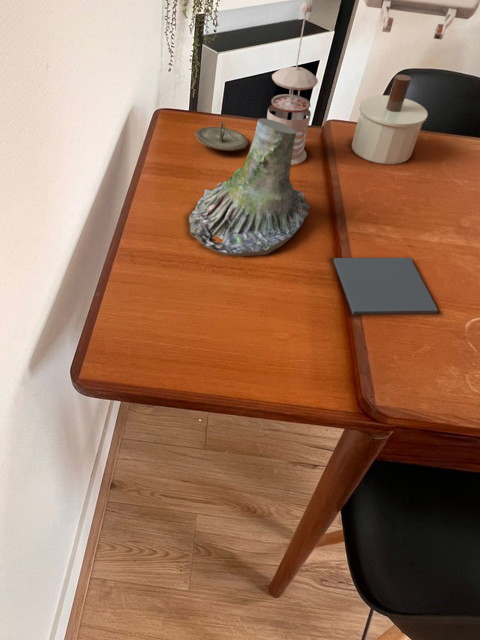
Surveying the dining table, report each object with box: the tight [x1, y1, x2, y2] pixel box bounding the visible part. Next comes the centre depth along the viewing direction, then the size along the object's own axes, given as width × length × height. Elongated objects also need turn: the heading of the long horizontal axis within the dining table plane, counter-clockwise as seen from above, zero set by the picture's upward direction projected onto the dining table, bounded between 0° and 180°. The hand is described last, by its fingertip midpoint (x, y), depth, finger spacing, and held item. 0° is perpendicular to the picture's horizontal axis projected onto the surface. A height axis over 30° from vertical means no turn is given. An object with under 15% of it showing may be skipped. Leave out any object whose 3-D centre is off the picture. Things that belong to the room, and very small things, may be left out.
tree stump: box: [188, 117, 312, 257], centre depth 83 cm, size 18×20×18 cm
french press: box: [266, 1, 319, 166], centre depth 94 cm, size 10×12×25 cm
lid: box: [194, 121, 249, 152], centre depth 102 cm, size 11×10×5 cm
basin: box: [351, 111, 423, 165], centre depth 103 cm, size 12×12×8 cm
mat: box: [333, 257, 439, 315], centre depth 77 cm, size 12×12×1 cm
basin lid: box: [358, 74, 429, 127], centre depth 98 cm, size 13×13×7 cm
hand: (412, 33), depth 98 cm, fingers open, 8 cm apart
